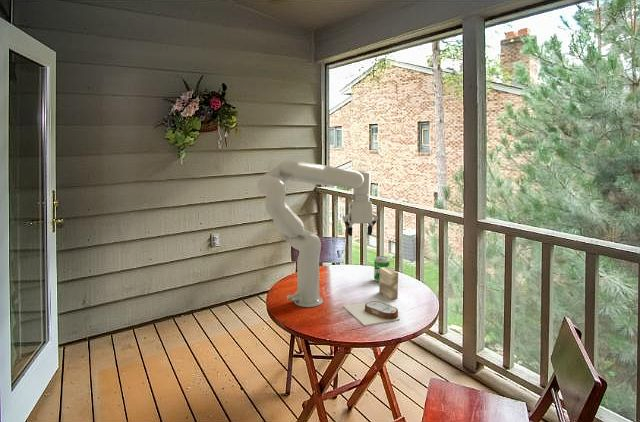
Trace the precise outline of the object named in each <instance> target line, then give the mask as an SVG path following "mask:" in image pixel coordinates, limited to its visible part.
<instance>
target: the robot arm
mask: <svg viewBox="0 0 640 422" xmlns="http://www.w3.org/2000/svg"><path fill="white" fill-rule="evenodd" d="M371 177H372V175H371V172H370V171H368V170H351V169H346V168H345V169H344V168H338V167H333V166H329V165H324V164H319V163H313V162H307V161H301V160H294V159H293V160H292V159H286V160H284V161H282V162H280V163H278V164H277V165H275V167H273V168H272V169H270V170H269V171H267V172H266V173H265V174H263V175H262V176H260V178H259V180H258V182H257V189H258V191H259V193H260V194H262V195H263V196H265V200H264V203H265V210H266V212H267V215H268V216H269V217H270V218H271V220H273V226H274V229H275V231H276V232H277V233H278V234H279V235H280V236H281V237H282V238H283V239H284V240H285V242H287V244H288V245H290V246H291V248H293V249H295V250H297V251H298V252H299V253H298V257H297V263H296V269H297V276H296V277H297V291H295V293H293V294H287V295H286V300H288V301H289V300H291V301H292V302H293V303H294V305H296V306H298V307H303V308H314V307H315V308H316V307H318V306H320V305H322V304H323V302H324V300H323V297H322V296H320V256H321V255H320V254H321V248H322V242H321V239H320V237H319V235H317V234H316V233H315V232H313V231H309V230H307V229H305V228H304V227H305V226H304V222H303V220H302V219H301V218H300V217H299V216H298V215H297V214H296V212H294V211H293V209H292V208H290V206H289V204H287V202H286V193H287V184H286V183H287V182H288V181H291V182H297V183H306V184H313V185H318V186H319V185H320V186H326V187H327V186H332V187H340V188H347V189H353V193H352V195H350V199H352V201H351V202H350V207H349V213H348V214H346V215H344V216H343V217H342V221H343V223H344V224H345V225H346V227H347V233H346V234H347V235H348V236H349V237H352V236H353V227H352V226H353V225H354V224H355V225H356V224H359V225H360V224H368V225H367V233H366V234H367V235H369V236H372V233H373V228H374V225H376V224H377V221H378V219H379V216H377V215H375V214H374V212H373V203H372V201H371V200H370V199H371V181H372V178H371ZM348 219H349V220H348Z"/></svg>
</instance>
